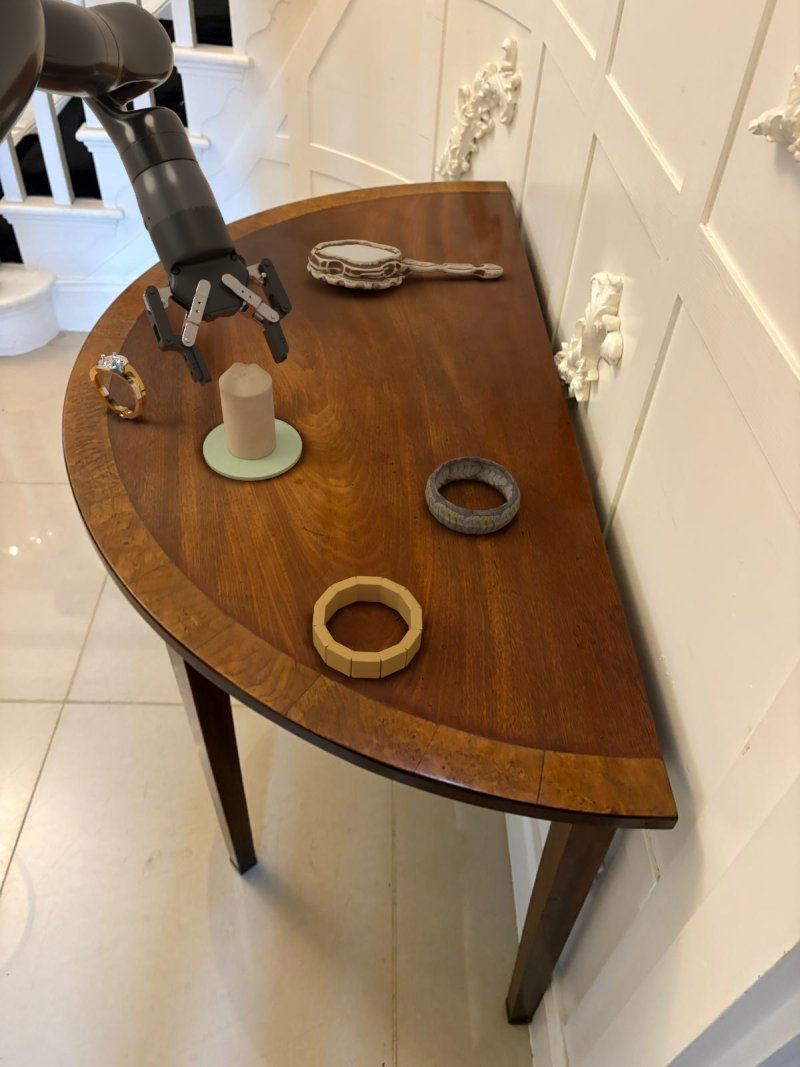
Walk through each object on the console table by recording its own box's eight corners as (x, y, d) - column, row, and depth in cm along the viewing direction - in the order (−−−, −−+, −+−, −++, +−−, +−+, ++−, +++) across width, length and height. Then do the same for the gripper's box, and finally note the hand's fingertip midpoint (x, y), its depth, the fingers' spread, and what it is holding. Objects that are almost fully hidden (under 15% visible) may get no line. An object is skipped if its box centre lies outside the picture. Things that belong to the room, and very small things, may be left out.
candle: (216, 444, 88) (206, 367, 81) (254, 423, 91) (248, 348, 84) (248, 467, 86) (240, 390, 79) (286, 445, 89) (282, 370, 82)
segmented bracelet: (344, 694, 67) (344, 677, 65) (296, 616, 72) (295, 598, 70) (439, 652, 70) (442, 635, 68) (387, 580, 76) (388, 562, 74)
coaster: (224, 492, 83) (224, 489, 83) (189, 434, 90) (188, 431, 90) (318, 463, 88) (318, 459, 87) (278, 409, 94) (278, 406, 94)
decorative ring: (534, 527, 82) (493, 467, 89) (539, 504, 80) (498, 445, 86) (445, 548, 79) (410, 485, 86) (448, 525, 77) (412, 462, 84)
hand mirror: (516, 280, 115) (313, 269, 108) (504, 311, 120) (309, 303, 113) (500, 233, 121) (306, 221, 114) (489, 265, 126) (302, 255, 119)
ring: (156, 420, 91) (144, 361, 86) (135, 434, 89) (122, 374, 84) (114, 398, 94) (100, 340, 88) (93, 411, 92) (77, 352, 86)
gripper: (120, 218, 73) (188, 383, 75) (257, 190, 79) (318, 343, 81) (110, 250, 80) (173, 401, 81) (238, 222, 86) (294, 363, 88)
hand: (245, 372), depth 81 cm, fingers open, 8 cm apart
